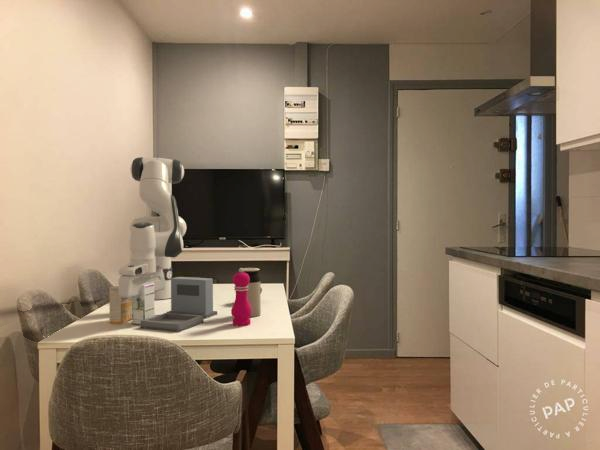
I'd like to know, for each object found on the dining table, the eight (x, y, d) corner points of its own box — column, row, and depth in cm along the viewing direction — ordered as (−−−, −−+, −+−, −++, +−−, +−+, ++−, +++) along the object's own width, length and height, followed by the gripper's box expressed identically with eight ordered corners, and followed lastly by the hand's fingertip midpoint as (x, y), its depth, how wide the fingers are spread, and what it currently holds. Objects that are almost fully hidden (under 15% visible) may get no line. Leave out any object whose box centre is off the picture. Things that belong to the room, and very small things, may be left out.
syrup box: (155, 321, 159) (155, 282, 159) (144, 325, 153) (144, 284, 153) (142, 320, 161) (142, 281, 160) (131, 324, 155) (131, 283, 155)
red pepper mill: (232, 322, 158) (231, 266, 158) (252, 321, 159) (251, 266, 158) (230, 326, 151) (230, 269, 151) (251, 326, 151) (251, 268, 151)
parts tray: (140, 327, 150) (140, 320, 150) (167, 319, 163) (167, 312, 163) (179, 332, 144) (179, 324, 144) (203, 322, 157) (203, 315, 157)
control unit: (166, 315, 170) (166, 278, 170) (179, 311, 178) (179, 276, 178) (205, 318, 164) (205, 280, 164) (217, 314, 171) (217, 278, 171)
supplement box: (121, 323, 156) (120, 287, 156) (109, 323, 157) (108, 287, 157) (134, 318, 164) (133, 284, 164) (122, 318, 165) (122, 283, 165)
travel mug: (252, 318, 164) (251, 270, 163) (235, 316, 168) (235, 269, 168) (264, 314, 170) (264, 268, 170) (248, 312, 175) (248, 267, 174)
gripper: (155, 264, 168) (155, 300, 168) (114, 270, 149) (115, 310, 149) (168, 265, 165) (169, 301, 165) (129, 271, 146) (129, 312, 146)
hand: (143, 306), depth 157 cm, fingers closed on syrup box, 6 cm apart
